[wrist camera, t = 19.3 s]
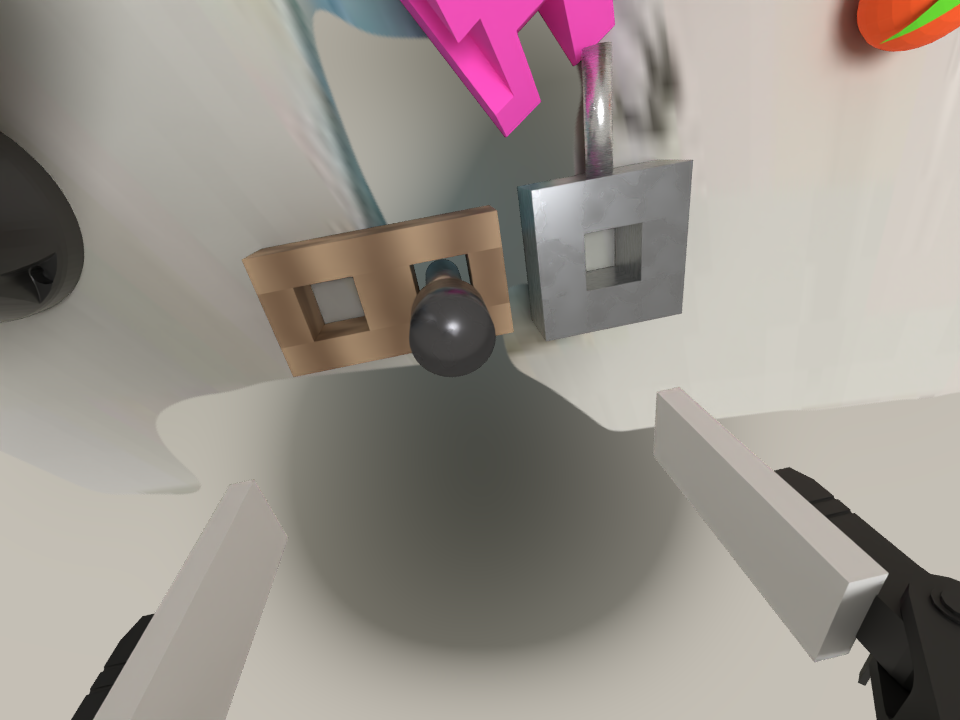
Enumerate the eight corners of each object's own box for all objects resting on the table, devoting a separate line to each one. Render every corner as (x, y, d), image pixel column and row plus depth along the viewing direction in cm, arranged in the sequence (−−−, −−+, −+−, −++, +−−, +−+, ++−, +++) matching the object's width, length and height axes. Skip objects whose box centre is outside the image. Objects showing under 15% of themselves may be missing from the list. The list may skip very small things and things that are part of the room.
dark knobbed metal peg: (421, 307, 37) (420, 384, 24) (407, 253, 34) (399, 307, 22) (474, 297, 37) (501, 367, 24) (465, 242, 34) (488, 289, 22)
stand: (305, 356, 37) (293, 377, 34) (261, 248, 33) (241, 259, 29) (505, 315, 38) (513, 332, 34) (489, 205, 33) (496, 210, 30)
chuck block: (532, 320, 39) (546, 341, 34) (503, 69, 29) (518, 53, 25) (652, 295, 39) (681, 313, 35) (661, 40, 30) (703, 20, 25)
